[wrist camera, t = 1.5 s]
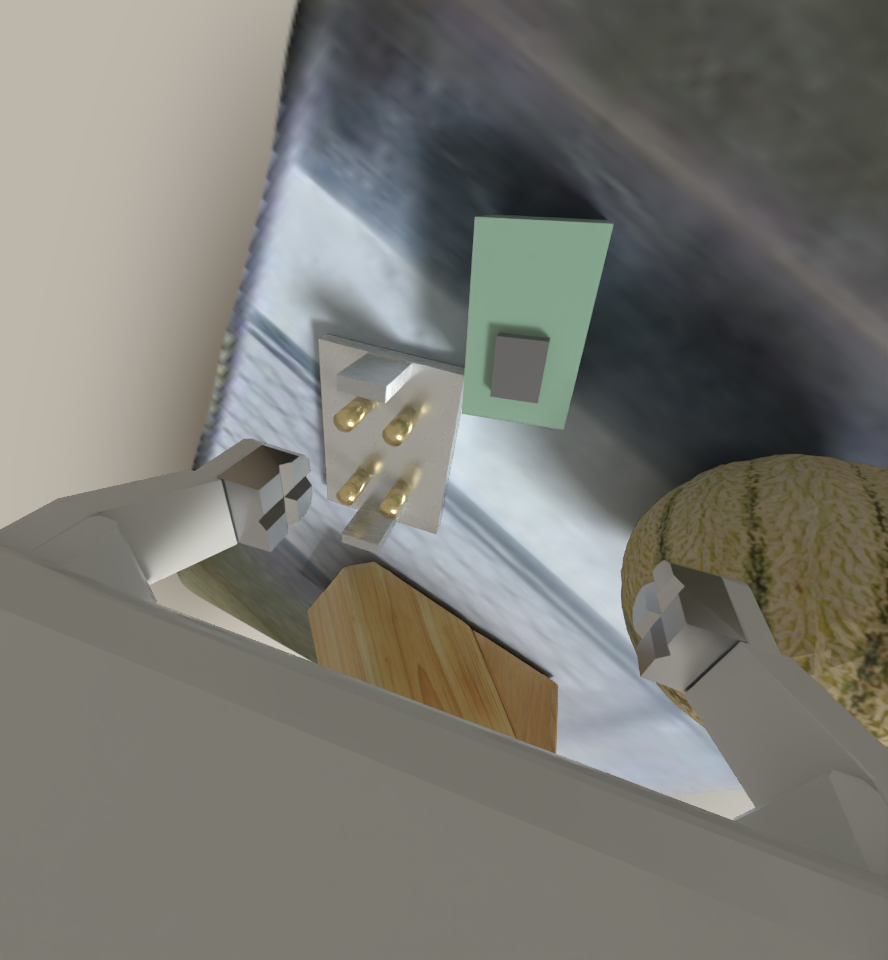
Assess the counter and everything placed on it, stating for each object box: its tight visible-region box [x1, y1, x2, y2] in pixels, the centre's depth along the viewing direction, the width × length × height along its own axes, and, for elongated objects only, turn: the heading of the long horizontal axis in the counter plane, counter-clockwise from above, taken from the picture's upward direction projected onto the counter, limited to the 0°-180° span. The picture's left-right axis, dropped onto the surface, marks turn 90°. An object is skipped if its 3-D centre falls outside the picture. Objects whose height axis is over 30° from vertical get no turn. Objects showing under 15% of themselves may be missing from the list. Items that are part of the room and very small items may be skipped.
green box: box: [462, 215, 614, 430], centre depth 20 cm, size 9×6×6 cm, turn 178°
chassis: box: [318, 334, 465, 554], centre depth 28 cm, size 14×10×5 cm
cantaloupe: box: [621, 454, 888, 749], centre depth 19 cm, size 15×15×15 cm
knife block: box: [308, 562, 558, 754], centre depth 31 cm, size 11×35×31 cm, turn 56°
